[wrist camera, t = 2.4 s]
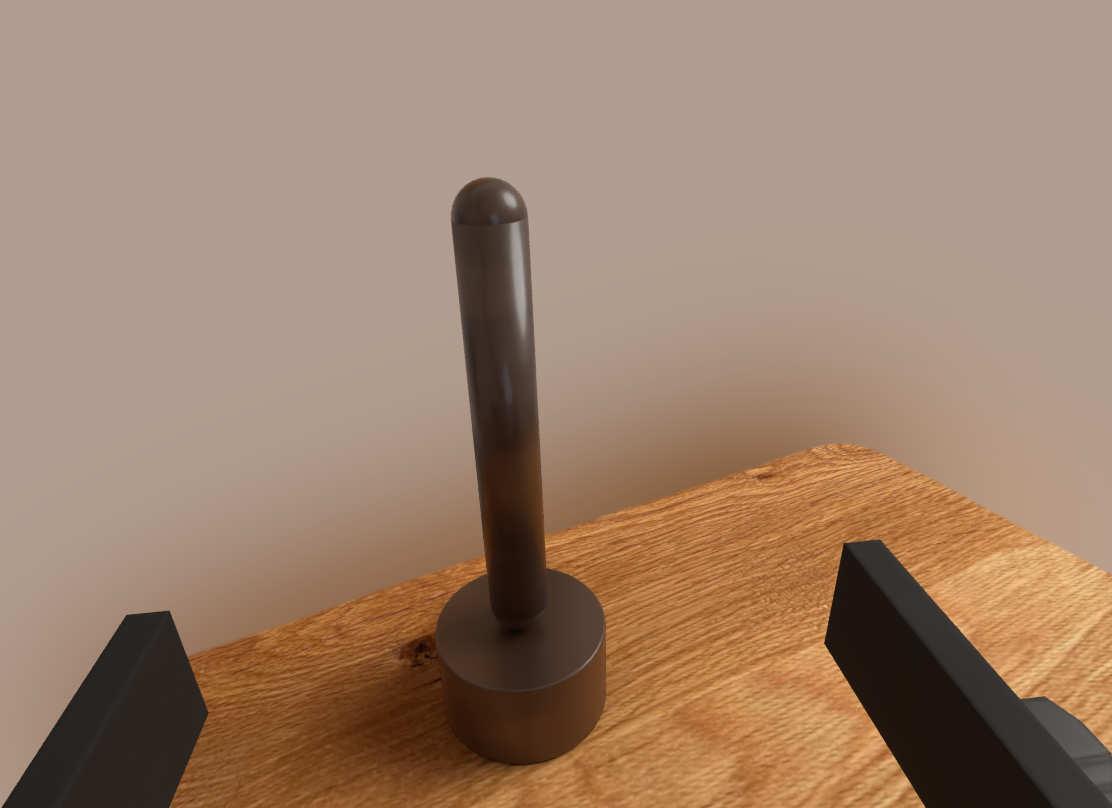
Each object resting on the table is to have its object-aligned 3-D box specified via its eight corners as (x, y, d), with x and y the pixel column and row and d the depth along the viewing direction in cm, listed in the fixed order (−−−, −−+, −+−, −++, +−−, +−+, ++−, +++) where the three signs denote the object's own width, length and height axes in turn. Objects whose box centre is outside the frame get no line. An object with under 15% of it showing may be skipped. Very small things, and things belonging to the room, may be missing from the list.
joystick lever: (420, 748, 23) (317, 197, 15) (475, 622, 28) (422, 163, 20) (591, 780, 22) (580, 197, 14) (616, 642, 27) (620, 162, 19)
